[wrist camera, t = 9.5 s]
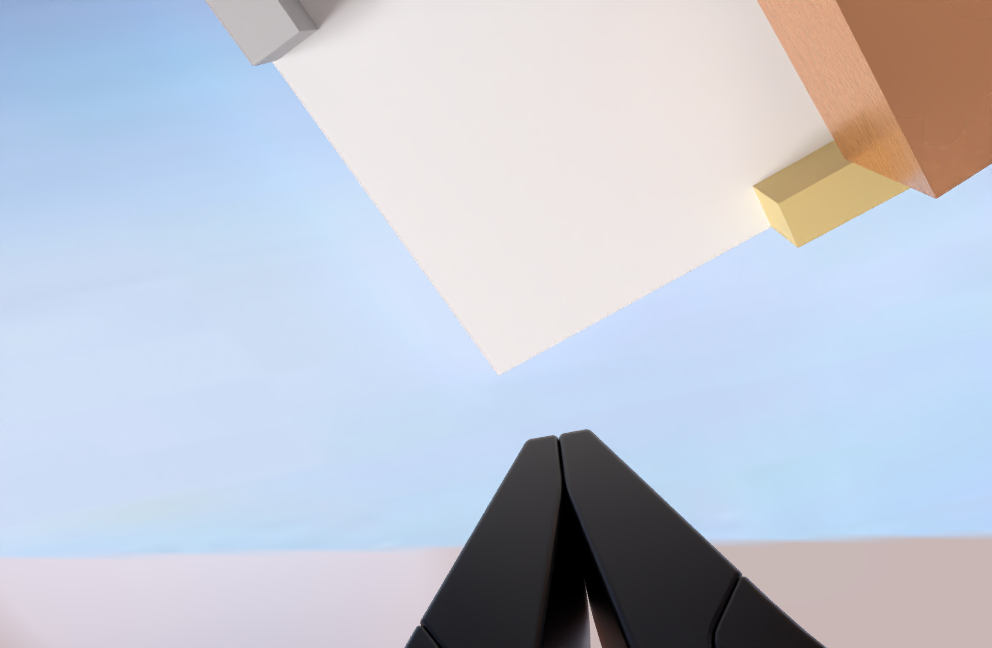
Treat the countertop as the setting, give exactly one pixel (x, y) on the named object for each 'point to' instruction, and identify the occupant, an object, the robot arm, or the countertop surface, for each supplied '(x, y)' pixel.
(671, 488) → the countertop surface
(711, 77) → the coupling board
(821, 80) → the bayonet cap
